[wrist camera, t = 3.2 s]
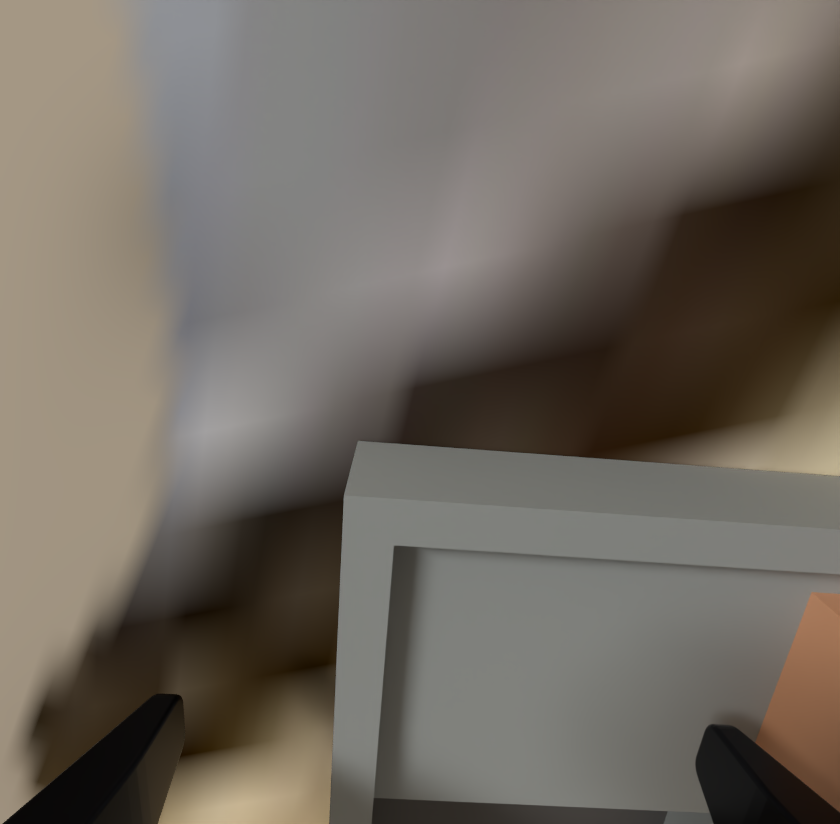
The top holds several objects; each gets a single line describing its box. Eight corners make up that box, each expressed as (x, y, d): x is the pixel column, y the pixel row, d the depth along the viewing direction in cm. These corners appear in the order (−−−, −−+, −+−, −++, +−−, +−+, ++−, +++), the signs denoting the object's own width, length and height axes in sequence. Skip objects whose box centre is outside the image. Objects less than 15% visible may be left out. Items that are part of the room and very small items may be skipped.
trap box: (1249, 506, 11) (1450, 571, 9) (939, 986, 16) (1019, 1100, 14) (358, 440, 10) (344, 495, 8) (330, 967, 15) (317, 1084, 13)
